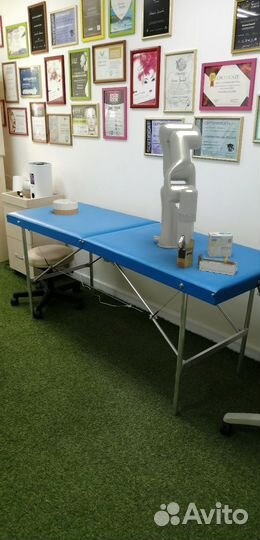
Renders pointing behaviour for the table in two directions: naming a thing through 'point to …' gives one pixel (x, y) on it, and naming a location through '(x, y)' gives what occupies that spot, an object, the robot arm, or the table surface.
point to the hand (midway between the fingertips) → (184, 254)
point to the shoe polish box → (189, 255)
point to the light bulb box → (219, 244)
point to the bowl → (65, 207)
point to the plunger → (210, 261)
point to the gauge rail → (218, 266)
